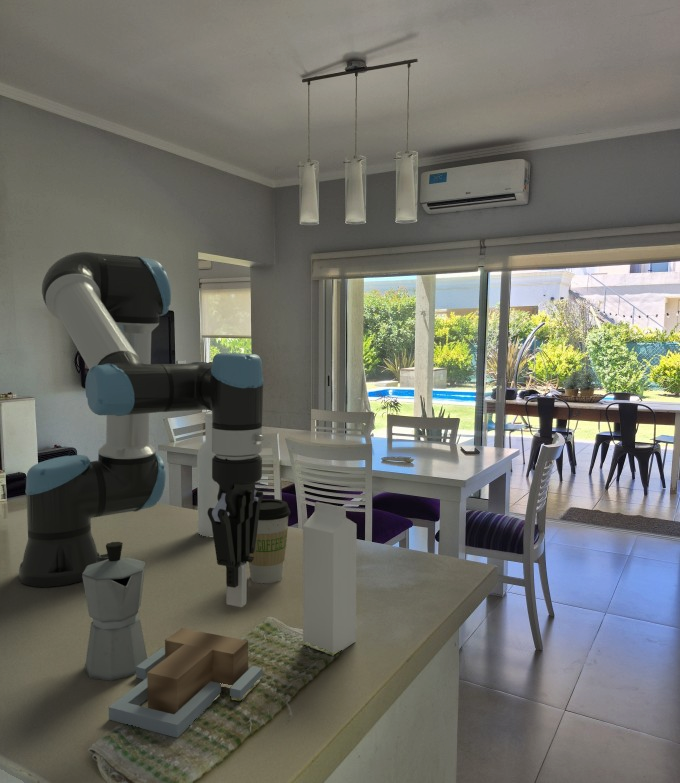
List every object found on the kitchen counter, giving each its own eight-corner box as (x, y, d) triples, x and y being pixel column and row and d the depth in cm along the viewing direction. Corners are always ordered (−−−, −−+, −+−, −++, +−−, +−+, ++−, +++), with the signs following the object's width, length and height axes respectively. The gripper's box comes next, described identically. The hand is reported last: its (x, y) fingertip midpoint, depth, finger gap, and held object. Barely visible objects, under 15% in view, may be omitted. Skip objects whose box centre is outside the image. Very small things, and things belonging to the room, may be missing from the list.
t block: (127, 705, 79) (126, 667, 79) (182, 660, 91) (181, 628, 90) (200, 723, 75) (199, 684, 75) (248, 675, 87) (248, 640, 86)
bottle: (218, 526, 159) (217, 410, 156) (236, 532, 153) (235, 412, 151) (191, 532, 153) (189, 412, 151) (209, 539, 147) (207, 415, 145)
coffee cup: (282, 589, 117) (282, 511, 116) (234, 584, 119) (233, 508, 118) (296, 570, 127) (296, 499, 126) (251, 567, 129) (250, 496, 128)
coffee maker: (160, 675, 86) (157, 550, 85) (94, 694, 82) (90, 562, 80) (132, 634, 99) (130, 524, 98) (73, 648, 94) (70, 533, 93)
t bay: (88, 713, 77) (87, 701, 77) (162, 657, 91) (162, 647, 91) (201, 744, 71) (200, 731, 71) (262, 679, 86) (262, 667, 85)
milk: (326, 631, 100) (326, 497, 99) (356, 642, 96) (357, 503, 95) (302, 645, 95) (302, 505, 94) (333, 657, 92) (333, 511, 90)
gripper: (236, 465, 86) (235, 626, 89) (278, 449, 98) (276, 591, 101) (191, 460, 89) (191, 617, 91) (237, 445, 101) (236, 584, 103)
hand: (236, 603), depth 96 cm, fingers closed
